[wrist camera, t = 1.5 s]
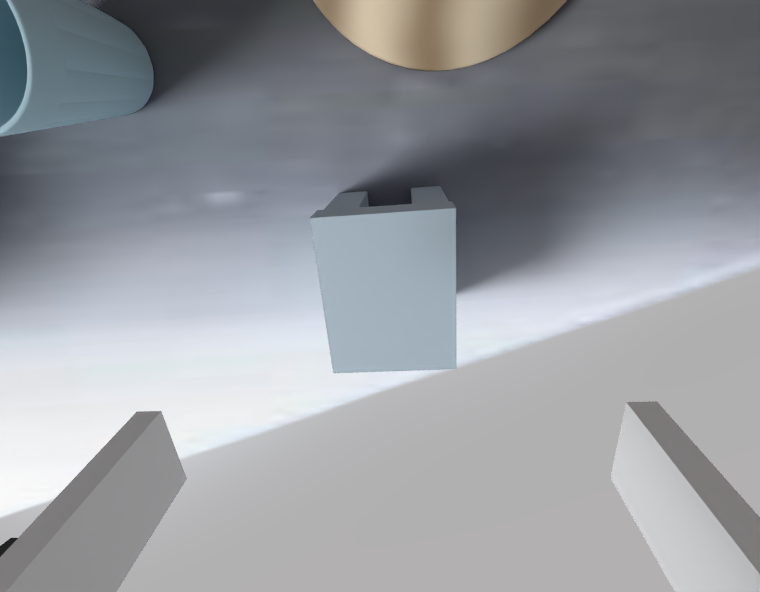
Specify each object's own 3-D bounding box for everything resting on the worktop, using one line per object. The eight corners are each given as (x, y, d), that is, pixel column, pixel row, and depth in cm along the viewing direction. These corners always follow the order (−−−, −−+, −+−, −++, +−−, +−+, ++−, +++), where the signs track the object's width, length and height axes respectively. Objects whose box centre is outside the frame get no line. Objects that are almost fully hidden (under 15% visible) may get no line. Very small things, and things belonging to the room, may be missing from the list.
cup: (133, -28, 23) (-60, -132, 13) (193, 113, 26) (69, 109, 16) (27, 16, 24) (-220, -50, 15) (95, 145, 27) (-74, 160, 18)
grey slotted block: (352, 306, 31) (333, 373, 23) (338, 188, 27) (309, 218, 19) (442, 301, 30) (456, 368, 22) (440, 181, 27) (455, 208, 18)
